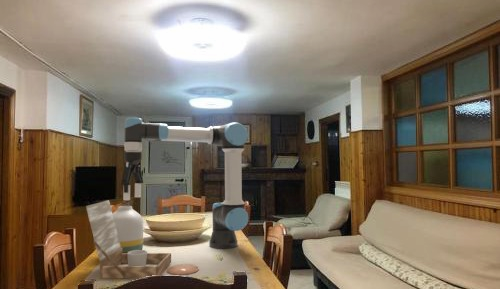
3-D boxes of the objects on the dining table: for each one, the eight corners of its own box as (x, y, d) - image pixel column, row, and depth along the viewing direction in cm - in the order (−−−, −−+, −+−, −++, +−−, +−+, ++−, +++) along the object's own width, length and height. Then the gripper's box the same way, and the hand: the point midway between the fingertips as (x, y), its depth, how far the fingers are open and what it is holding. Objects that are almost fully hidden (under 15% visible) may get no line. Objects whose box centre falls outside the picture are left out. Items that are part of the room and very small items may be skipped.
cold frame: (171, 263, 170) (171, 199, 171) (157, 279, 147) (157, 205, 148) (107, 263, 170) (107, 200, 172) (83, 279, 147) (84, 206, 149)
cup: (131, 267, 164) (131, 248, 165) (149, 266, 165) (149, 248, 165) (125, 274, 153) (125, 254, 154) (145, 273, 154) (145, 254, 154)
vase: (121, 263, 170) (122, 209, 171) (98, 258, 179) (98, 207, 180) (150, 255, 185) (150, 205, 186) (127, 251, 194) (127, 203, 195)
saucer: (200, 266, 165) (200, 264, 165) (195, 274, 152) (195, 272, 152) (171, 266, 165) (171, 264, 165) (163, 274, 152) (163, 272, 152)
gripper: (134, 152, 185) (134, 196, 184) (113, 150, 160) (112, 201, 159) (150, 152, 184) (149, 196, 183) (130, 150, 160) (130, 201, 159)
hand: (132, 198), depth 171 cm, fingers open, 13 cm apart
